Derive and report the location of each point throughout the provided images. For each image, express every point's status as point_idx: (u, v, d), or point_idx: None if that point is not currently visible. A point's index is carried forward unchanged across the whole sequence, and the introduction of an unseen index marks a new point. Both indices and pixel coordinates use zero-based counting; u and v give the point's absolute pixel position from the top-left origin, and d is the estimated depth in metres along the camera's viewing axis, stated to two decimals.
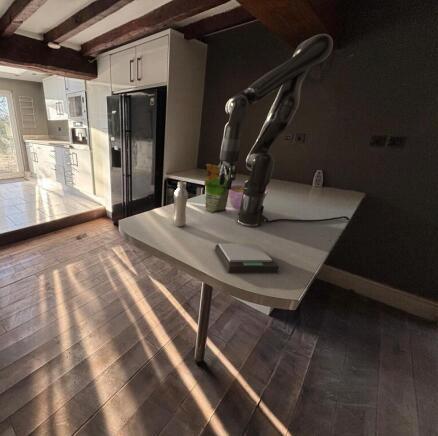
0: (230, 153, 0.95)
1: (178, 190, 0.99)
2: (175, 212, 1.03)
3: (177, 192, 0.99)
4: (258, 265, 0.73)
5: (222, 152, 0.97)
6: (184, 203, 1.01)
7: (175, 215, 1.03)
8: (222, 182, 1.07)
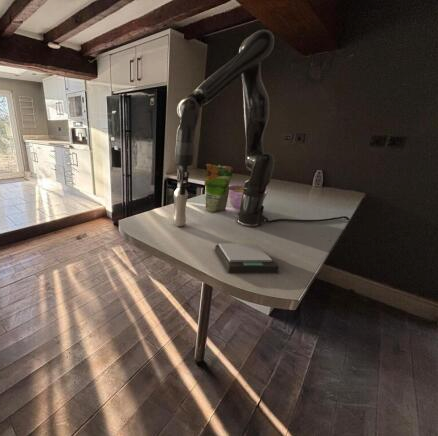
0: (182, 157, 0.92)
1: (178, 190, 0.99)
2: (175, 212, 1.03)
3: (177, 192, 0.99)
4: (258, 265, 0.73)
5: (175, 156, 0.94)
6: (184, 203, 1.01)
7: (175, 215, 1.03)
8: None
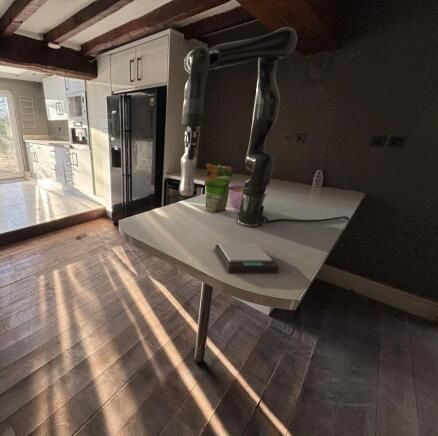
0: (191, 116, 0.84)
1: (186, 155, 0.91)
2: (182, 180, 0.95)
3: (185, 157, 0.91)
4: (258, 265, 0.73)
5: (183, 115, 0.86)
6: (192, 169, 0.93)
7: (182, 183, 0.95)
8: None
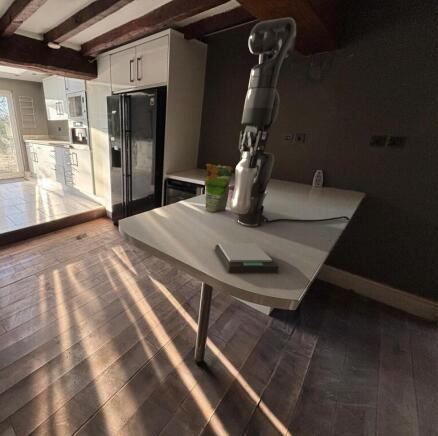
0: (259, 111, 0.64)
1: (244, 162, 0.71)
2: (237, 194, 0.74)
3: (243, 165, 0.71)
4: (258, 265, 0.73)
5: (246, 111, 0.66)
6: (251, 181, 0.72)
7: (237, 198, 0.75)
8: None
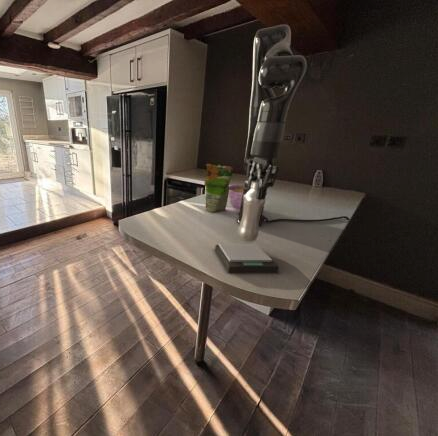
0: (268, 145, 0.63)
1: (253, 192, 0.71)
2: (245, 223, 0.74)
3: (252, 195, 0.71)
4: (258, 265, 0.73)
5: (256, 144, 0.65)
6: (260, 211, 0.72)
7: (245, 227, 0.74)
8: None
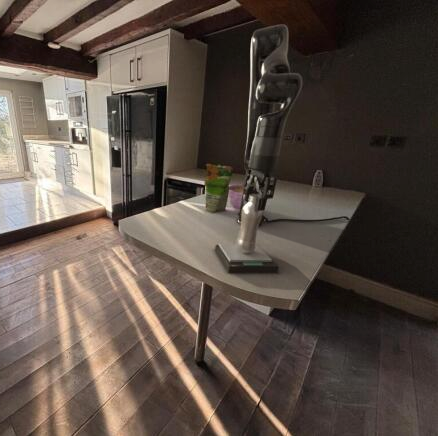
0: (266, 159, 0.65)
1: (251, 206, 0.72)
2: (243, 235, 0.76)
3: (249, 208, 0.72)
4: (258, 265, 0.73)
5: (253, 157, 0.67)
6: (257, 223, 0.73)
7: (243, 239, 0.76)
8: None
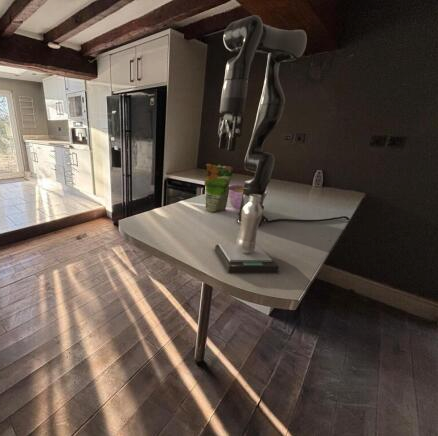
0: (233, 100, 0.71)
1: (251, 206, 0.72)
2: (243, 235, 0.76)
3: (249, 208, 0.72)
4: (258, 265, 0.73)
5: (223, 101, 0.73)
6: (257, 223, 0.73)
7: (243, 239, 0.76)
8: (223, 145, 0.83)
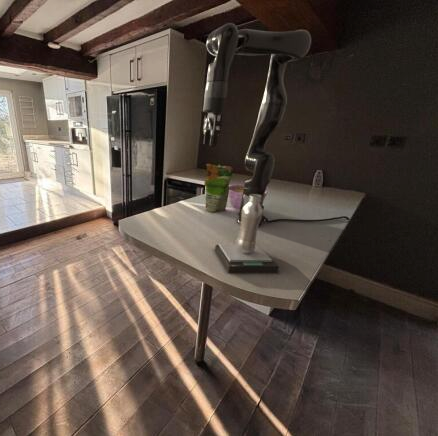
0: (214, 100, 0.78)
1: (251, 206, 0.72)
2: (243, 235, 0.76)
3: (249, 208, 0.72)
4: (258, 265, 0.73)
5: (205, 100, 0.80)
6: (257, 223, 0.73)
7: (243, 239, 0.76)
8: (207, 141, 0.90)
